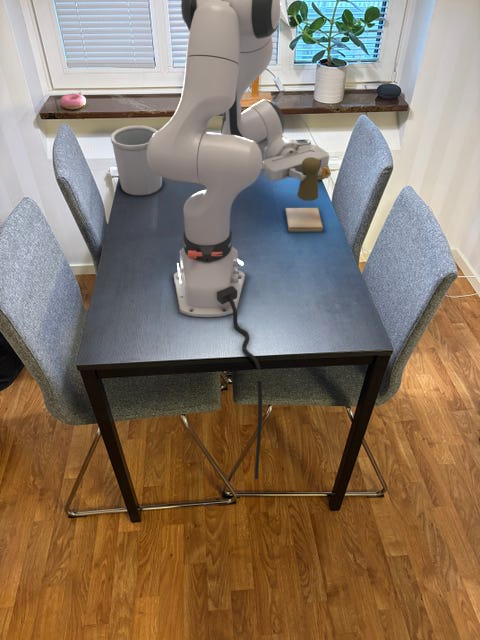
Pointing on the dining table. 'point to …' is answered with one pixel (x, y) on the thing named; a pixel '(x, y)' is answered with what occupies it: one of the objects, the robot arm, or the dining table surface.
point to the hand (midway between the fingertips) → (312, 175)
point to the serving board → (303, 219)
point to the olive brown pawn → (309, 179)
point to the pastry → (324, 173)
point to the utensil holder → (135, 160)
